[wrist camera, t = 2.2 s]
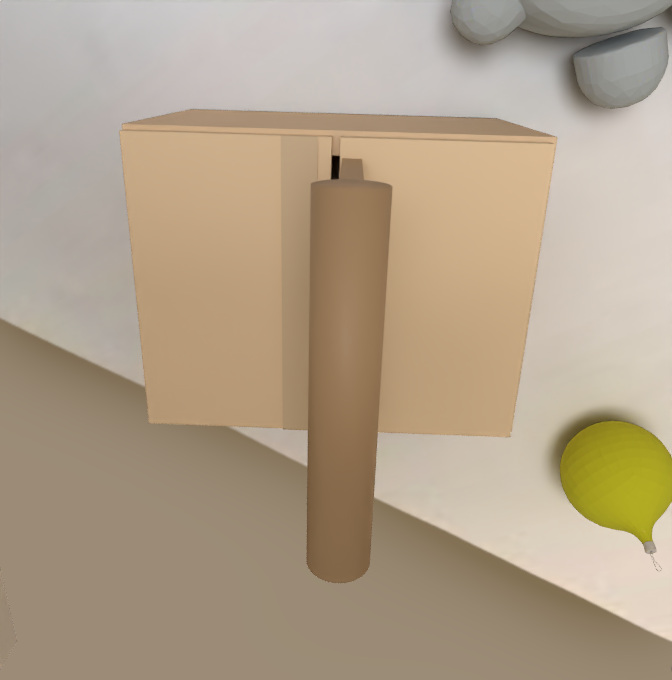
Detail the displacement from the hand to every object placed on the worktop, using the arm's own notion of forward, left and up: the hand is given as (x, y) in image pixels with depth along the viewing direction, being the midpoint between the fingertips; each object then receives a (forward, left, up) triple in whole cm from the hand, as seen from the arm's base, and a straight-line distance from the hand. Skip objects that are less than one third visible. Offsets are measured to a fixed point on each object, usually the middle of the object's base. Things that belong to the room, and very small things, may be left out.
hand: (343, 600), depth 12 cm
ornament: (+18, -15, -31) cm, 39 cm away
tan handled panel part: (+3, 0, -18) cm, 19 cm away
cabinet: (-1, 0, -30) cm, 30 cm away
